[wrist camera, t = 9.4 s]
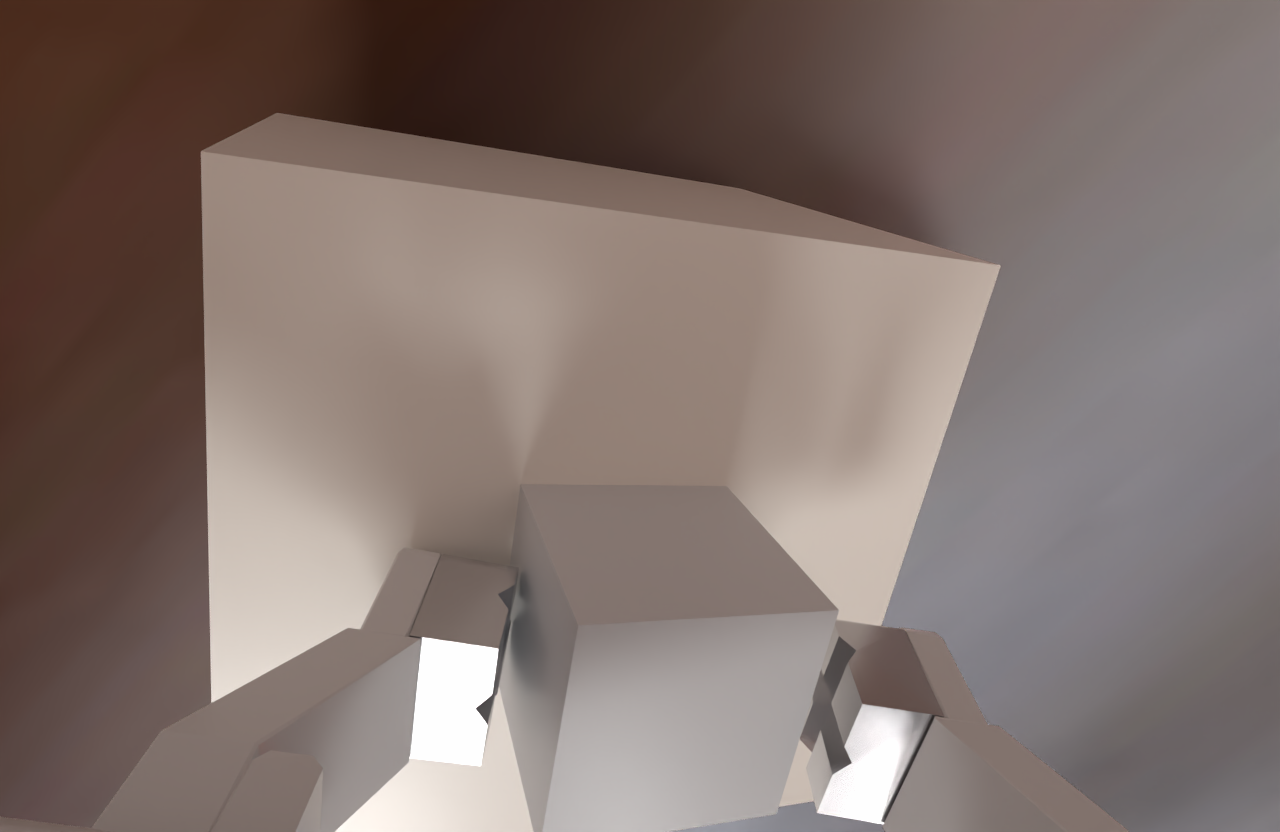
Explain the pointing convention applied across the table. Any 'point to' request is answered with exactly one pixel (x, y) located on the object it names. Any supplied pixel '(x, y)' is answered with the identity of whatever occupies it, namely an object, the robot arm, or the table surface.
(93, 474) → the table surface
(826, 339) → the white box
